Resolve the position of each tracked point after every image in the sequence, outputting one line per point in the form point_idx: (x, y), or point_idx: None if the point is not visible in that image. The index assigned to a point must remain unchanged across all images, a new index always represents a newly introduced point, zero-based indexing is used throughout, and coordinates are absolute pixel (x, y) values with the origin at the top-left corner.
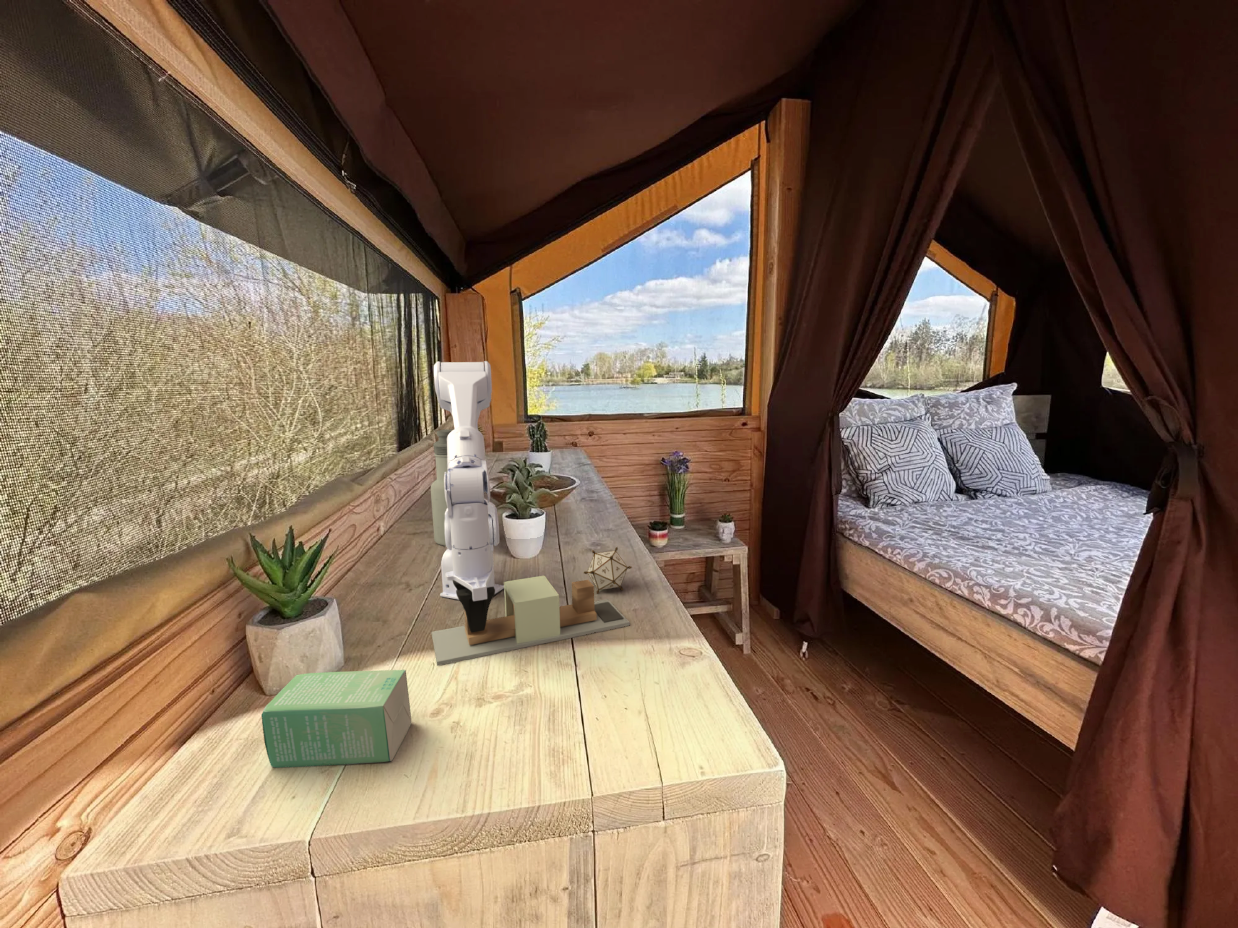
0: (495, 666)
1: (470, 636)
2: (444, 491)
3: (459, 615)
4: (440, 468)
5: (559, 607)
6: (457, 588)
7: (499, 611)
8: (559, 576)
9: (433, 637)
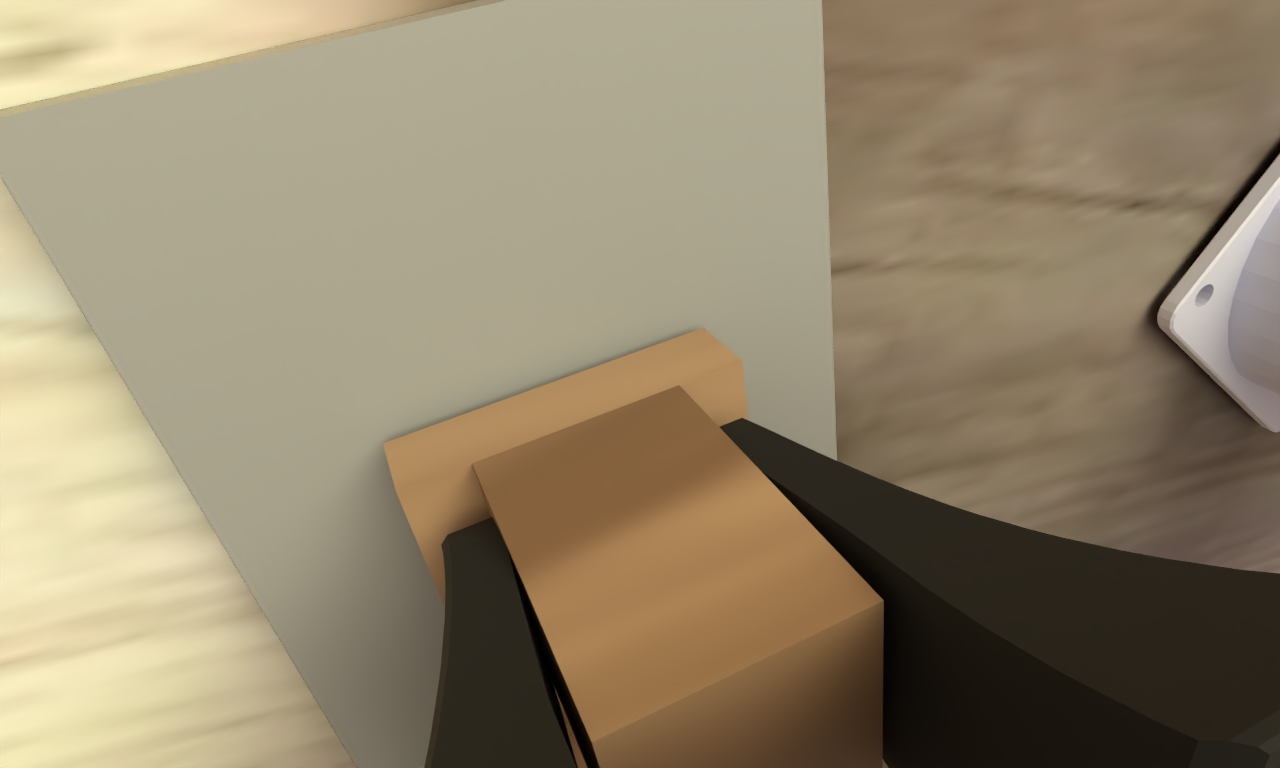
0: (27, 711)
1: (428, 500)
2: None
3: (1063, 170)
4: None
5: None
6: (1094, 707)
7: (983, 472)
8: None
9: None
